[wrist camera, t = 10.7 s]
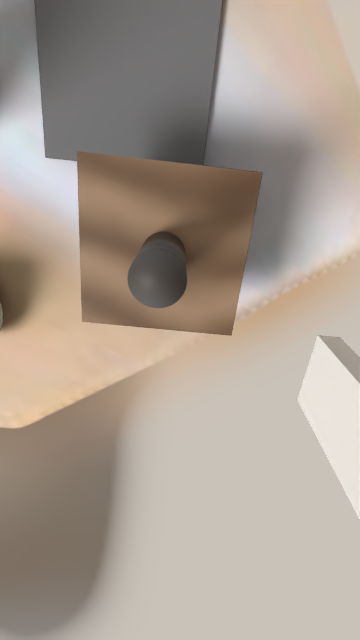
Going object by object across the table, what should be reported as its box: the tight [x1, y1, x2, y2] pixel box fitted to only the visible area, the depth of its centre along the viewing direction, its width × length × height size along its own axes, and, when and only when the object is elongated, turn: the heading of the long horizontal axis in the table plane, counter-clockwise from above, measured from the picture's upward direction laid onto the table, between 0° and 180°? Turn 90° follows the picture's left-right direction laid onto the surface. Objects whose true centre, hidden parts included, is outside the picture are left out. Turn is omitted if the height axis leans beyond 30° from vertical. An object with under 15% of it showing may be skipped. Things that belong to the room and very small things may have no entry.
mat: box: [35, 0, 222, 165], centre depth 29 cm, size 16×16×1 cm
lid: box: [77, 151, 263, 335], centre depth 25 cm, size 15×15×9 cm
